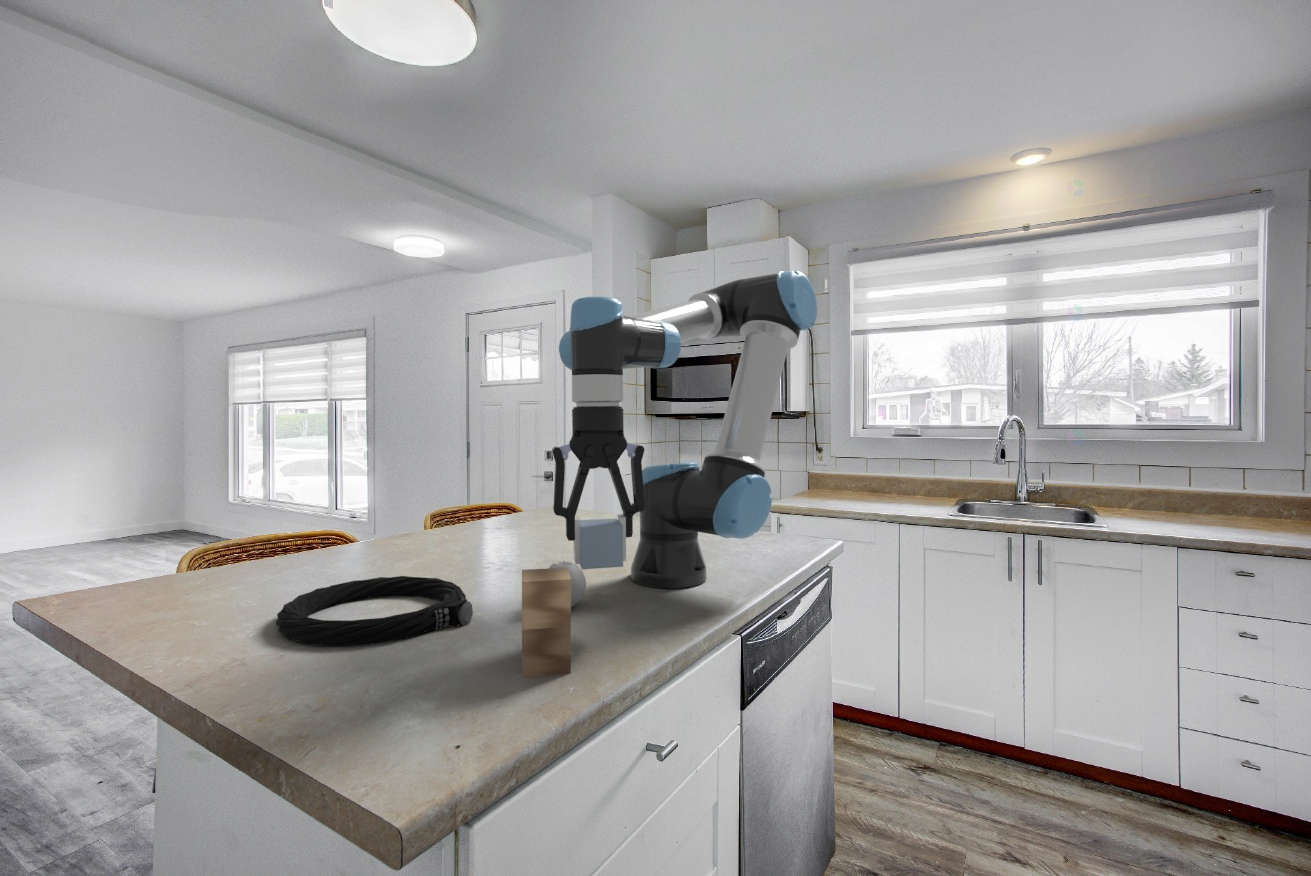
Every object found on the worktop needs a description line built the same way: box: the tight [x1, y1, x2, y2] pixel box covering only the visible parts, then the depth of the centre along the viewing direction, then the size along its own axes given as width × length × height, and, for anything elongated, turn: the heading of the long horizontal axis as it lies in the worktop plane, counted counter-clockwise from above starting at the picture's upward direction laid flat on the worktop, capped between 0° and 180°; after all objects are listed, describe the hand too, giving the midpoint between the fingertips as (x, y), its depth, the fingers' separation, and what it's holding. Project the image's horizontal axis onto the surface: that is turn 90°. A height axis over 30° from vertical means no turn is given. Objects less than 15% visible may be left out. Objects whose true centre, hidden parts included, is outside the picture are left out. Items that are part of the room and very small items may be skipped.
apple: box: [547, 560, 587, 608], centre depth 103 cm, size 8×8×8 cm
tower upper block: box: [521, 567, 572, 631], centre depth 79 cm, size 6×6×6 cm
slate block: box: [579, 518, 624, 570], centre depth 90 cm, size 6×6×6 cm
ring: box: [274, 575, 474, 647], centre depth 98 cm, size 28×4×30 cm
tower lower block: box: [521, 625, 572, 678], centre depth 79 cm, size 6×6×6 cm
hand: (600, 559), depth 91 cm, fingers closed on slate block, 6 cm apart
